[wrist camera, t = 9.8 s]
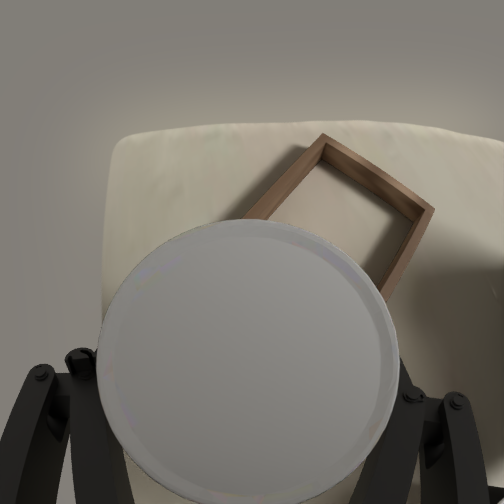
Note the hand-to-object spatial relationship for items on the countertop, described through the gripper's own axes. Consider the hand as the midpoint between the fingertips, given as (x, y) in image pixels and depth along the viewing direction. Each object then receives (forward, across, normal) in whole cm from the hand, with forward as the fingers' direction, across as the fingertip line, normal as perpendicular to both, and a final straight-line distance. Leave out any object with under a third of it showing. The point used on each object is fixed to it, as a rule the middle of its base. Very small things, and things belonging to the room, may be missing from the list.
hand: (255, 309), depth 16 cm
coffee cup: (+1, 0, -5) cm, 5 cm away
